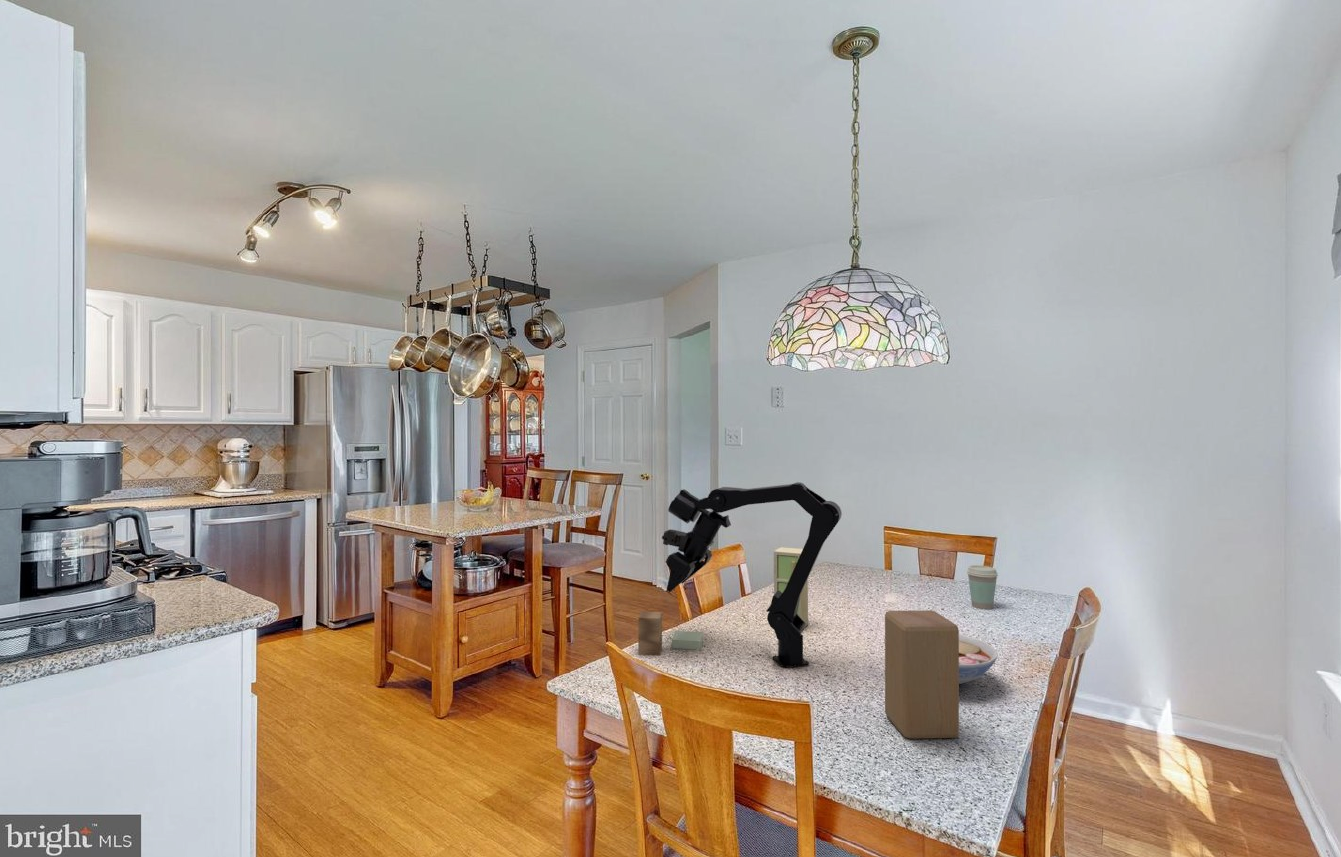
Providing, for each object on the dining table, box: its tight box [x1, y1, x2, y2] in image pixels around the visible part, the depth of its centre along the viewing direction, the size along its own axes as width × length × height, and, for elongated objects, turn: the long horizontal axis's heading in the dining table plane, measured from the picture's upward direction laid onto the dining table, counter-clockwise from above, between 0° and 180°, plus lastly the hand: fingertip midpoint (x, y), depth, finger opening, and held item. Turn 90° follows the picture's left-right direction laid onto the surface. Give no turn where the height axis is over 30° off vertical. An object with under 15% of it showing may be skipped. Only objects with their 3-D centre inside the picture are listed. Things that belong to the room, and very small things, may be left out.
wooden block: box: [884, 609, 960, 739], centre depth 112 cm, size 10×10×20 cm
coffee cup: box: [966, 564, 999, 610], centre depth 191 cm, size 8×9×12 cm
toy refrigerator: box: [773, 546, 809, 629], centre depth 171 cm, size 8×7×21 cm
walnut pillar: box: [637, 611, 663, 656], centre depth 147 cm, size 5×5×10 cm
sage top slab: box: [671, 630, 704, 651], centre depth 152 cm, size 7×7×2 cm
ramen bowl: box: [883, 633, 999, 685], centre depth 134 cm, size 25×23×8 cm
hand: (674, 586), depth 154 cm, fingers open, 9 cm apart
